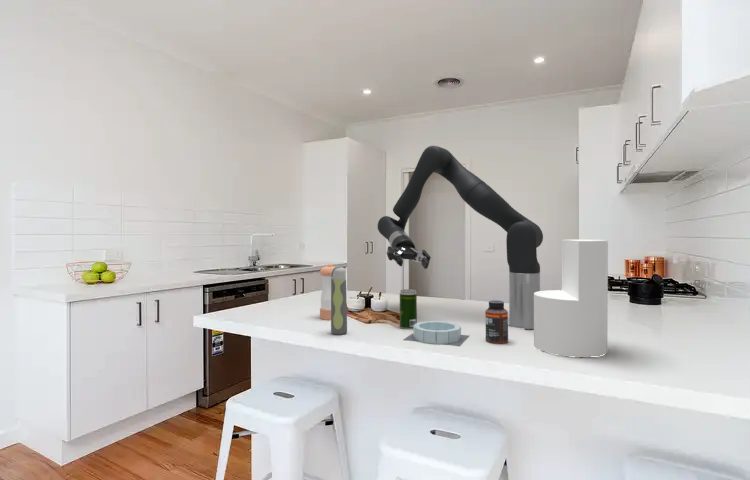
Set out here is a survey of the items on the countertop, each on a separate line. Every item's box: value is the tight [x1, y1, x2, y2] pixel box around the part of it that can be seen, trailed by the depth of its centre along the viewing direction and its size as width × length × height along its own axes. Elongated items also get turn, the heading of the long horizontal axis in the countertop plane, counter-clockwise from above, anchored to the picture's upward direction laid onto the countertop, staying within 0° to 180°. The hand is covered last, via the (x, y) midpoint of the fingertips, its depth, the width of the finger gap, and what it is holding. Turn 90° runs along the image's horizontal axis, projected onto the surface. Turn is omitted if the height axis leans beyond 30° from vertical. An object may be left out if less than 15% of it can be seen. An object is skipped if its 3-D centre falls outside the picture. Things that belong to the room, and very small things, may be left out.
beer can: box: [399, 288, 418, 330], centre depth 131 cm, size 5×5×12 cm
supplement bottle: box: [484, 299, 509, 345], centre depth 114 cm, size 6×6×11 cm
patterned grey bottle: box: [330, 266, 348, 336], centre depth 126 cm, size 5×5×20 cm
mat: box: [402, 333, 470, 347], centre depth 118 cm, size 16×12×1 cm
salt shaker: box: [319, 263, 336, 321], centre depth 148 cm, size 7×7×19 cm
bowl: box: [412, 320, 462, 345], centre depth 118 cm, size 13×13×3 cm
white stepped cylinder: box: [533, 239, 609, 357], centre depth 108 cm, size 17×17×28 cm
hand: (414, 265), depth 134 cm, fingers open, 8 cm apart
